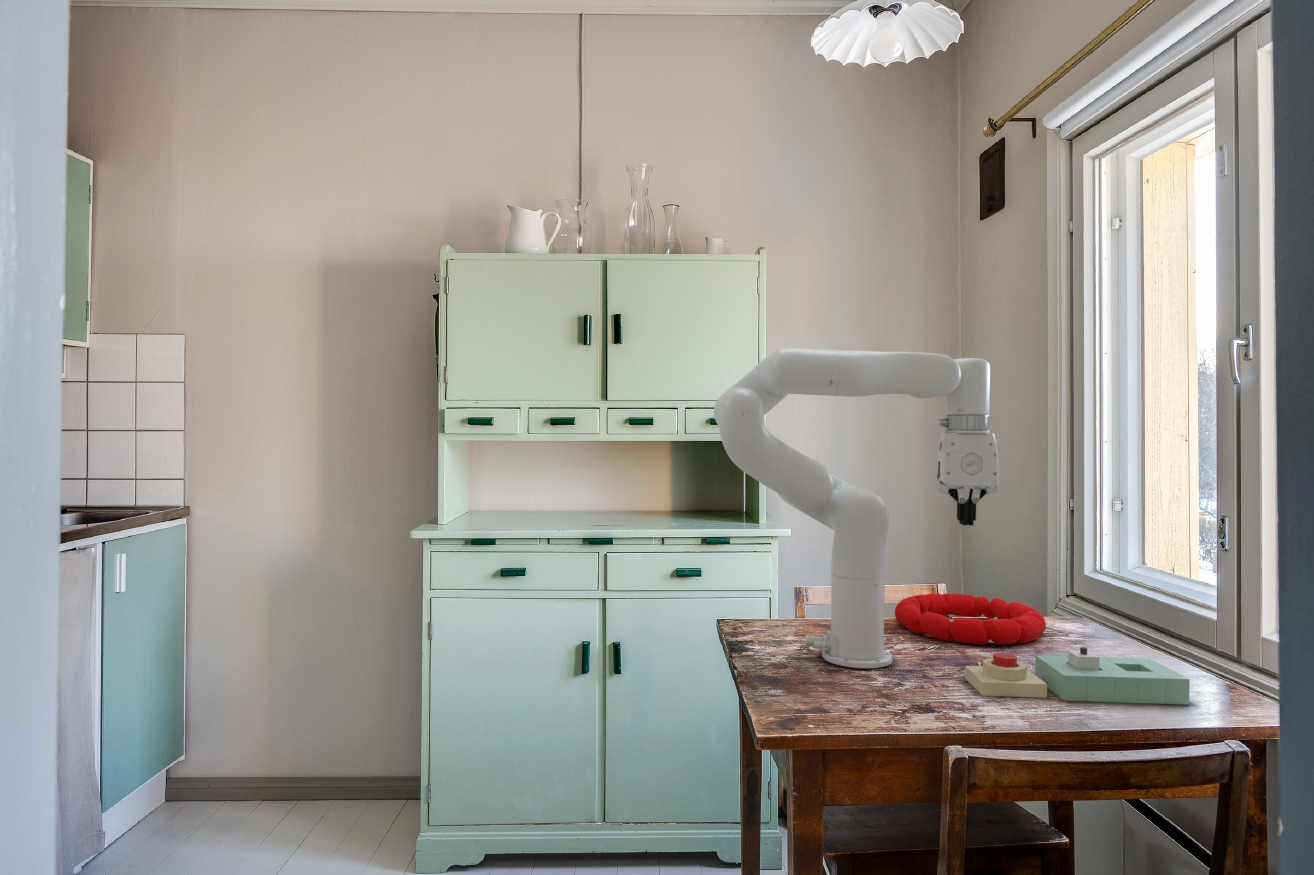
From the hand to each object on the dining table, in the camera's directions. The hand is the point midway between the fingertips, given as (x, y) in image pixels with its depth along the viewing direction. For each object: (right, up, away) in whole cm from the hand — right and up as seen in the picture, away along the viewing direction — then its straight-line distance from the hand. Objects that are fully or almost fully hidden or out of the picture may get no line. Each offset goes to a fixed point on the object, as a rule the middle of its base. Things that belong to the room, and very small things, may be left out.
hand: (966, 524), depth 146 cm
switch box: (0, -25, -16) cm, 30 cm away
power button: (0, -22, -16) cm, 27 cm away
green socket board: (+17, -25, -17) cm, 35 cm away
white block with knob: (+13, -25, -17) cm, 33 cm away
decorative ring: (+10, -25, +23) cm, 36 cm away
